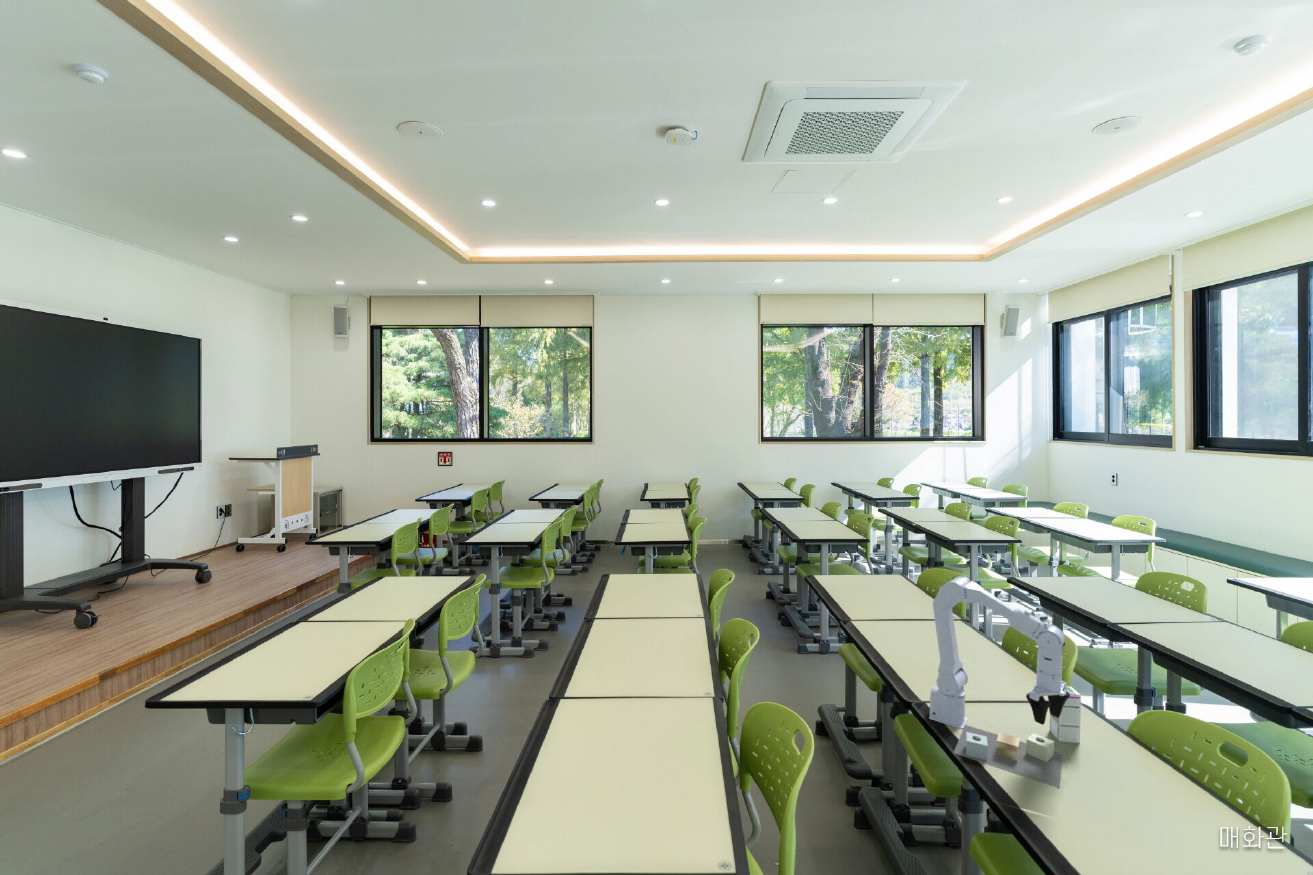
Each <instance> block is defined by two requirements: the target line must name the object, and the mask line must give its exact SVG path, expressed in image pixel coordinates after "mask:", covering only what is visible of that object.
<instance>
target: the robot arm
mask: <svg viewBox="0 0 1313 875" xmlns="http://www.w3.org/2000/svg"><path fill="white" fill-rule="evenodd" d="M964 600H965V603H966V604H980V605H983V606H984V607H986V608H987V609H989V610H991V611H993V612H995V614H996V613H997V614H998V615H999V616H1002V617H1003V618H1005V619H1006V620H1007V621H1008V624H1009V626H1010V627H1012V628H1013V629H1015V630H1017V631H1018V632H1019V633H1021V634H1023V635H1024V636H1026V637H1027V638H1029V639H1031V640H1033V641H1035V644H1036V645H1037V647H1038V648H1037V649H1038V650H1037V656H1036V657H1037V659H1036V677H1035V678H1036V679H1035V680H1036V681H1035V683H1034V686H1033V688H1032V689H1031V690H1030V691H1029V693H1026V696H1025V698H1026V700H1027V701H1028V703H1029V705H1030V707H1031V712H1032V715H1033V720H1034V722H1036V723H1038V724H1040V725H1044V724H1045V722H1046V718H1047V713H1048V710H1049V715H1050V714H1051V715H1053V716H1055V717H1057V718H1059V717H1060V714H1061V712H1062V709H1063V706H1064V704H1065V702H1066V700H1067V699H1068V698H1069V697H1070V693H1068V692H1066V691H1064V690H1066V686H1068V685H1067V683H1068V682H1066V681H1063V680H1062V678H1063V662H1064V661H1063V658H1064V657H1063V653H1064V652H1063V645H1064V643H1065V641H1066V636H1065V634H1064V632H1063V631H1062V630H1061V628H1059V627H1058V626H1057V625H1054V624H1049V623H1048V622H1046V621H1042V620H1040V619H1039V618H1037V617H1036V616H1034V615H1032V612H1031V611H1030V610H1028V609H1025V610H1024V609H1022V608H1013V607H1011V606H1010V605H1008V604H1007V603H1006V602H1004V601H1003V600H1001V599H999V598H998V597H996V596H995V595H993V594H992V593H990V592H989V591H988V590H986V589H985V588H983V587H981V585H980V584H978V583H977V582H975V581H972V580H970V579H969V578H968V577H965V576H964V575H963V576H959V575H958V576H956V577H954V578H953V579H951V580H950V581H947V582H946V583H944V584H943V585H942V586H940V587H939V589H938V592H937V593H936V596H935V598H934V599H933V601H932V608H933V610H932V611H933V616H934V624H935V631H936V639H937V645H938V652H939V660H940V661H939V666H938V669H937V672H938V673H937V674H938V675H937V679H936V686H932V687H931V690H930V696H929V717H928V719H930V720H933V721H935V722H938V723H941V724H944V725H948V726H952V727H955V728H958V729H961V730H963V729H964V726H965V725H967V724H966V723H967V722H968V718H969V717H967V716H965V714H966V713H965V712H966V709H965V708H966V690H965V688H964V686H966V685H967V683H968V677H969V676H968V673H967V672H966V671H965V668H964V664H963V662H962V661H961V660H960V655H959V649H958V643H957V641H958V640H957V635H956V629H955V628H956V626H955V620H954V615H953V614H954V612H953V608H954V607H955V606H956V605H957V604H960V603H962V602H963V601H964ZM1045 696H1047V698H1048V700H1046V699H1045Z"/></svg>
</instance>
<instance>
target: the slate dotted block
mask: <svg viewBox="0 0 1313 875" xmlns="http://www.w3.org/2000/svg"><path fill="white" fill-rule="evenodd" d="M987 752H988V744H987V737H986V736H982V735H978V734H974V733H969V732H966V755H968V756H972V757H976V758H980V759H984V760H987Z"/></svg>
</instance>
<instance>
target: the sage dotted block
mask: <svg viewBox="0 0 1313 875" xmlns="http://www.w3.org/2000/svg"><path fill="white" fill-rule="evenodd" d="M1025 741H1026V742H1025V743H1026V754H1029V755H1031V756H1033V757H1036V758H1038V759H1040V760H1043V761H1045V762H1048V761H1049V760H1050V759H1051V758H1052V757H1053V756H1054V752H1055V748H1054V747H1055V741H1054V740H1052V739H1049V738H1046V737H1044V736H1041V735H1039V734H1037V733H1032V734H1031V735H1030V736H1028V738H1026V740H1025Z"/></svg>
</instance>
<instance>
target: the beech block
mask: <svg viewBox="0 0 1313 875" xmlns="http://www.w3.org/2000/svg"><path fill="white" fill-rule="evenodd" d="M997 735H998V738H997V749H996V755H999V756H1003V757H1006V758H1009V759H1012V760H1015V761H1018V758H1019V753H1020V742H1021V738H1020V737H1015V736H1012V735H1009V734H1006V733H1002V732H998V734H997Z"/></svg>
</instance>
